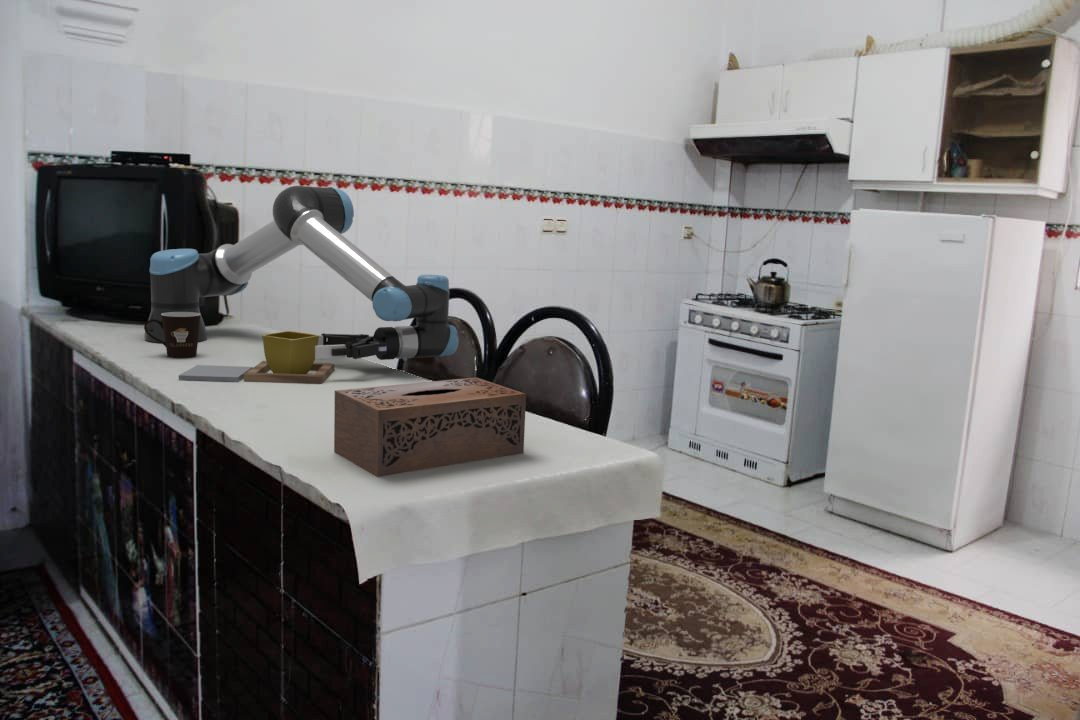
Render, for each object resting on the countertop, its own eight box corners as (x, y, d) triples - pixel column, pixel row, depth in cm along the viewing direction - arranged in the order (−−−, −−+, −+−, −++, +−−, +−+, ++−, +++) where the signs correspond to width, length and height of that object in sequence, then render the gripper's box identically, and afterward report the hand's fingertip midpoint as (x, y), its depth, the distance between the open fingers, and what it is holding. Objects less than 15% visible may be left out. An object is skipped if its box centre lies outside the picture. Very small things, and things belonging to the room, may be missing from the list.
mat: (197, 369, 196) (197, 364, 195) (252, 371, 196) (252, 366, 196) (178, 380, 184) (178, 375, 184) (237, 381, 185) (237, 377, 184)
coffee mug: (207, 354, 214) (207, 313, 213) (190, 360, 206) (189, 317, 204) (161, 351, 215) (160, 310, 214) (142, 357, 207) (141, 314, 205)
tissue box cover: (474, 434, 153) (476, 377, 151) (523, 455, 142) (526, 393, 140) (334, 453, 137) (334, 390, 136) (377, 478, 126) (378, 410, 124)
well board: (262, 367, 201) (262, 360, 201) (334, 369, 202) (334, 363, 202) (243, 381, 186) (243, 374, 185) (321, 383, 187) (321, 376, 186)
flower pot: (320, 374, 196) (320, 334, 195) (293, 381, 188) (293, 339, 187) (288, 370, 200) (288, 330, 198) (261, 376, 192) (261, 334, 190)
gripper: (417, 368, 196) (325, 374, 184) (372, 350, 217) (286, 354, 205) (418, 334, 195) (325, 338, 183) (372, 319, 215) (286, 322, 203)
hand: (304, 347), depth 194 cm, fingers open, 13 cm apart
